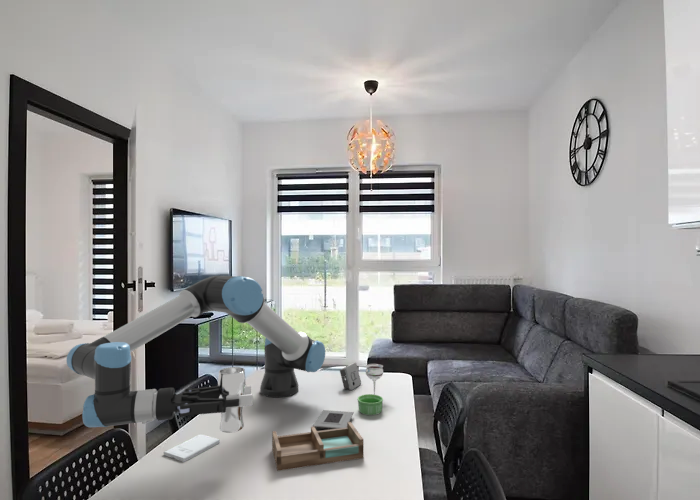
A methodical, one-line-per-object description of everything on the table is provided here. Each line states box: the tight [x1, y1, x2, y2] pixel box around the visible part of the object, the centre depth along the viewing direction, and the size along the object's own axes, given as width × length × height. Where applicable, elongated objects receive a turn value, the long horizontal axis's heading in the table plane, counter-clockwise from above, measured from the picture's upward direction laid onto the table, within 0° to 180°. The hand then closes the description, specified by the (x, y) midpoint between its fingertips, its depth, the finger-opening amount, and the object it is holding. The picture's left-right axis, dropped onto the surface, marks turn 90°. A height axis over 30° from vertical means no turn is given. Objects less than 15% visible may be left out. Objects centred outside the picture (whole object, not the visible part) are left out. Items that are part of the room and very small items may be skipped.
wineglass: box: [365, 363, 384, 395], centre depth 156 cm, size 7×7×12 cm
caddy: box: [271, 421, 365, 472], centre depth 112 cm, size 12×23×5 cm, turn 107°
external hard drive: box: [163, 433, 220, 463], centre depth 115 cm, size 2×8×12 cm
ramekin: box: [356, 393, 384, 416], centre depth 143 cm, size 9×9×4 cm
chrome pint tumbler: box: [217, 366, 247, 434], centre depth 106 cm, size 7×7×15 cm
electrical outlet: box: [312, 409, 354, 430], centre depth 132 cm, size 13×10×2 cm
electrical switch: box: [339, 362, 362, 391], centre depth 169 cm, size 9×5×9 cm, turn 152°
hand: (251, 395), depth 108 cm, fingers closed on chrome pint tumbler, 6 cm apart
